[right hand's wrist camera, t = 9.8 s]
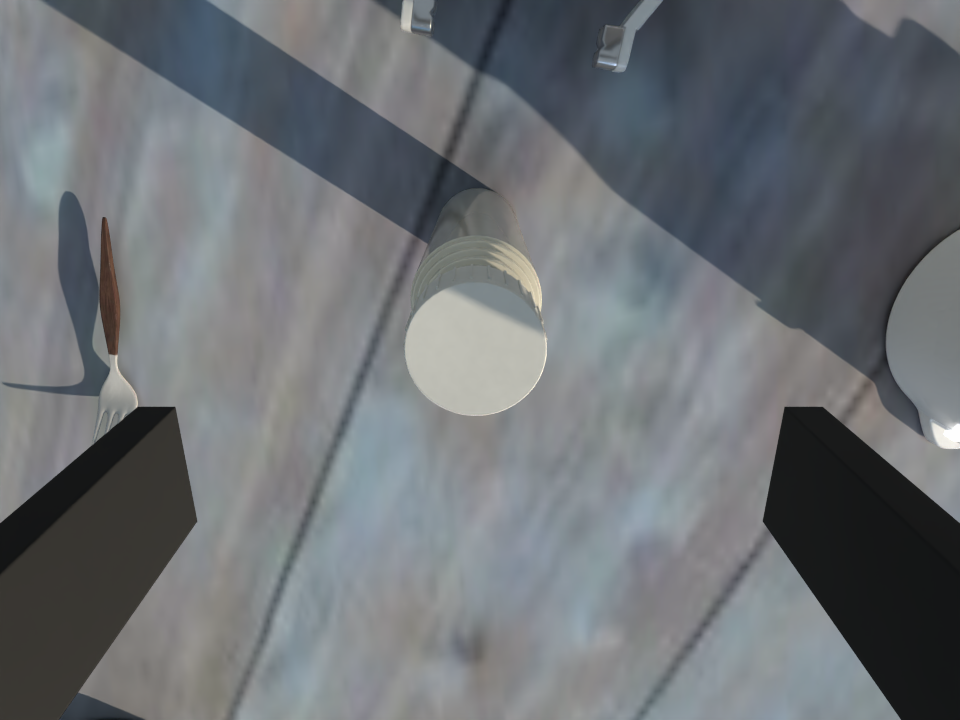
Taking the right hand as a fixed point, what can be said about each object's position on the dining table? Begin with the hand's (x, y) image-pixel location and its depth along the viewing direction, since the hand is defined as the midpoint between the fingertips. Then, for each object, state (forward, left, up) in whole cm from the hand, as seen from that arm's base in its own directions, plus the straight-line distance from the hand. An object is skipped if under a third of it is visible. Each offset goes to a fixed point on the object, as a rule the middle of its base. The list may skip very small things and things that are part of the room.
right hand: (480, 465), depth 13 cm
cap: (0, 0, -7) cm, 7 cm away
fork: (-25, -5, -29) cm, 38 cm away
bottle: (0, 0, -29) cm, 29 cm away
